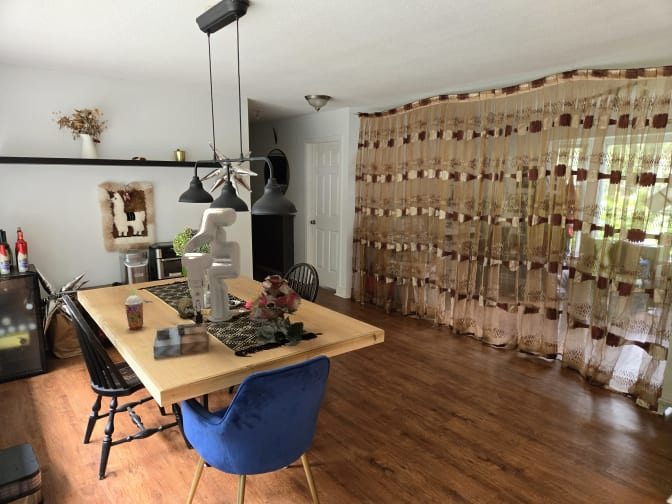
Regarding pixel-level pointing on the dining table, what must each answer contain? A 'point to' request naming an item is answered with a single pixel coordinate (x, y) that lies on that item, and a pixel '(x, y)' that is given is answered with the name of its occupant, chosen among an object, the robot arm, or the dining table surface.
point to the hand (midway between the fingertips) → (199, 321)
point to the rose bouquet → (276, 312)
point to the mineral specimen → (185, 307)
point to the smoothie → (134, 311)
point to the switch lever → (190, 324)
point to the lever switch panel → (180, 341)
